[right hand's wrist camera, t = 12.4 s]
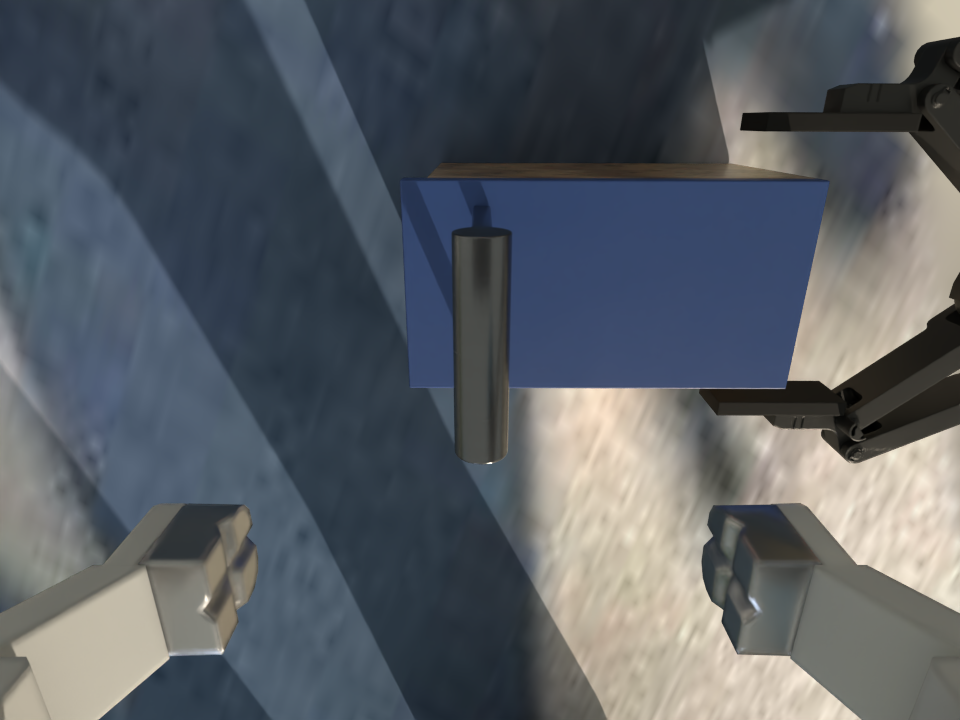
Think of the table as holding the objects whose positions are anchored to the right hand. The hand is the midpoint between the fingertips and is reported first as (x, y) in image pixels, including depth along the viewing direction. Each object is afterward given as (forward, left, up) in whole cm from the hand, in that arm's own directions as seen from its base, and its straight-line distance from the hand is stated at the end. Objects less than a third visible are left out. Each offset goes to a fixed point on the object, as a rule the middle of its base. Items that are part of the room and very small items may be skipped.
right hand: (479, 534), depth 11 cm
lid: (+2, +5, -17) cm, 18 cm away
